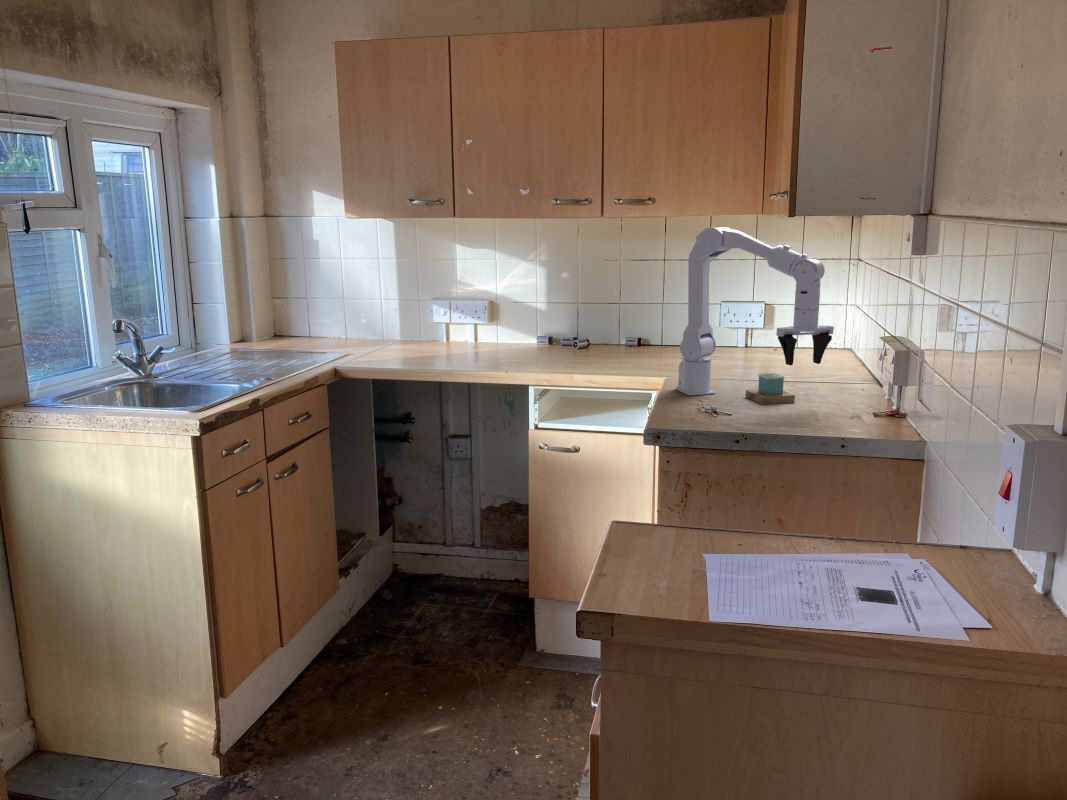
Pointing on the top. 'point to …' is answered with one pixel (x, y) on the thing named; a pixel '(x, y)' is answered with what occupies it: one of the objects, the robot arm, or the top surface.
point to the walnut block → (769, 397)
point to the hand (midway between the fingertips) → (803, 364)
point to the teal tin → (771, 383)
